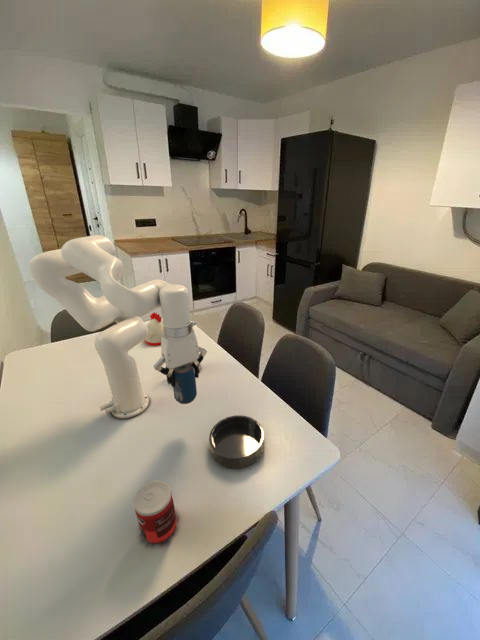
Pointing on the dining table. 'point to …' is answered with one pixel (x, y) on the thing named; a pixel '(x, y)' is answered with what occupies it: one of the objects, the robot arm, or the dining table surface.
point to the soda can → (184, 383)
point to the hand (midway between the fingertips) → (183, 379)
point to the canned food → (155, 511)
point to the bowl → (236, 441)
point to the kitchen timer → (155, 330)
